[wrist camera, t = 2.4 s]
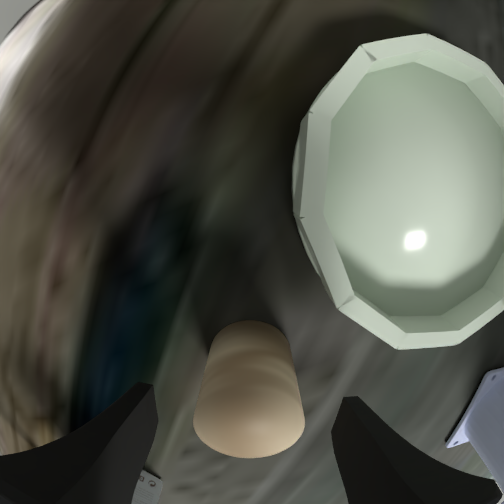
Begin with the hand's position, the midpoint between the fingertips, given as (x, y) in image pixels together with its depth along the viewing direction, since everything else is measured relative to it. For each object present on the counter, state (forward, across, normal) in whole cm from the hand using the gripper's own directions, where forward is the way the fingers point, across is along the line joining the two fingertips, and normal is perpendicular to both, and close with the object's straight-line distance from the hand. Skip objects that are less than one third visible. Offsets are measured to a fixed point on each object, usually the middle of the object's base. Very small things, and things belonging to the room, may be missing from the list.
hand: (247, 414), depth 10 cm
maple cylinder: (+4, 0, 0) cm, 4 cm away
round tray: (+4, -8, -9) cm, 13 cm away
